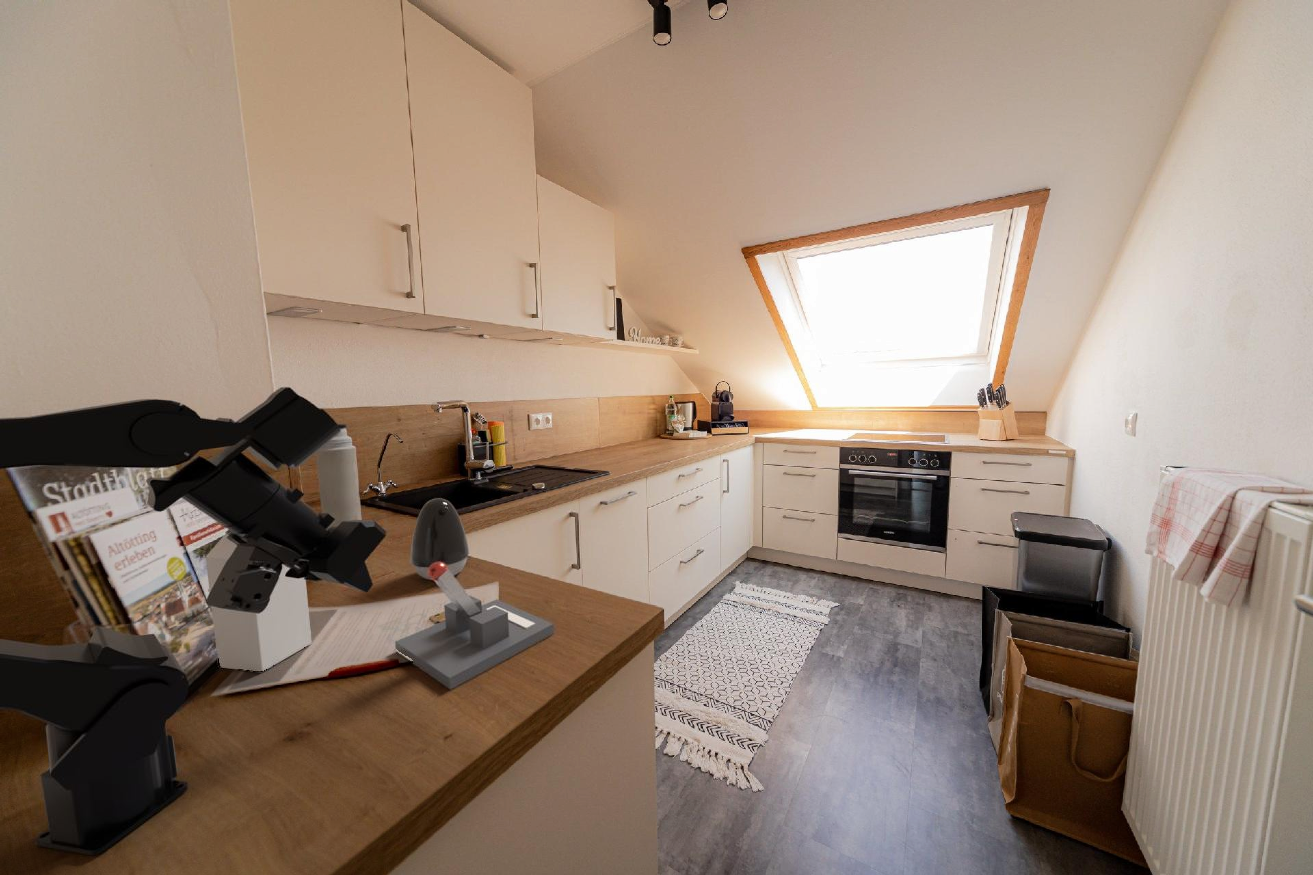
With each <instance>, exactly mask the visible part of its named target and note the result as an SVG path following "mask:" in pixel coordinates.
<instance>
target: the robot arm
mask: <svg viewBox="0 0 1313 875" xmlns="http://www.w3.org/2000/svg"><path fill="white" fill-rule="evenodd" d="M338 424H339V423H337V422H336V420H335V419H334V418H333V417H332V416H331V414H329V413H328V412H327V411H326V410H325V409H323V408H319V407H318V406H316V405H315V404H314V403H313V402H311V401H309V400H308V399H307V398H305V397H303V396H301V395H299V394H298V393H297V392H296V391H295V390H294V389H293V388H291V387H289V386H284V387H280V388H278V389H276V390H275V391H274V392H272V393H271V394H270V395H269V396H267V399H266V400H264V401H263V402H262V403H260V404H259V405H257V406H256V407H255V408H253V409H252V410H250V411H249V412H247V413H246V414H245V415H243V416H242V417H240V418H239V419H238V420H236V421H235V420H233V419H232V418H227V417H217V418H216V419H210V418H204V417H201V416H200V415H199V413H198V412H196V410H194V409H192V408H190V407H189V406H187V405H185V404H183V403H181V402H178V401H174V400H172V399H171V400H169V399H157V398H156V399H155V398H153V399H152V398H142V399H135V400H134V399H133V400H128V401H120V402H113V403H106V404H101V405H95V406H94V405H93V406H89V407H88V406H87V407H82V408H76V409H68V410H63V411H57V412H51V413H44V414H38V415H31V416H24V417H23V416H20V417H19V416H16V417H0V470H2V469H13V468H22V467H32V466H50V467H51V466H55V467H57V466H59V467H60V466H63V467H64V466H65V467H67V466H68V467H86V468H88V467H90V468H121V469H122V468H125V469H126V468H130V469H131V468H134V469H137V468H140V469H147V468H148V469H161V468H162V469H163V468H165V469H166V468H171V467H176V466H178V465H179V466H181V465H182V464H184V463H186V464H184V465H183V466H181V467H180V468H178V469H177V470H176V471H174V472H173V473H171V475H169V476H165V477H154V476H153V477H150V476H149V477H147V479H146V480H145V482H146V484H147V487H148V497H147V498H148V499H147V502H146V504H147V505H148V507H150V508H151V509H152V510H154V511H155V512H157V513H158V512H159V513H160V512H161V513H162V512H164V511H165V510H167V509H168V508H169V507H171V506H172V505H174V504H175V503H177V501H179V500H180V499H182V500H184V501H186V502H187V503H188V504H189V505H192V506H193V507H194V508H196V509H197V510H198V511H201V513H203V514H205V515H207V516H208V517H209V518H211V519H212V520H214V521H216V522H217V523H218V524H220V525H221V526H223V527H225V529H227V530H226V531H225V534H228V536H227V539H229V540H230V541H232V542H233V543H235V544H236V545H237V547H236V548H235V550H234V552H233V553H232V555H231V556H230V558H229V559H228V560H227V562H226V563H225V565H224V567H223V569H222V571H221V572H220V574H219V576H218V578H217V580H216V582H215V584H214V585H213V587H212V589H211V591H209V593H208V596H207V597H206V598H207V599H206V605H207V606H210V607H211V606H213V607H217V608H222V609H229V610H236V611H243V612H250V613H257V614H259V613H261V612H263V611H264V610H265V608H266V607H267V605H268V603H269V601H270V596H271V594H272V592H273V590H274V588H275V586H276V584H277V582H278V580H279V576H280V574H281V571H282V565H285V566H286V567H288V568H290V569H289V570H288V571H287V572H286V574H285V577H291V578H297V579H299V578H304V577H305V578H304V580H306V581H312V582H321V581H324V582H327V583H331V584H339V585H343V586H346V587H347V588H351V589H354V590H357V591H360V592H361V593H368V592H369V591H370V590H371V588H372V587H373V585H374V583H373V581H372V578H371V575H370V572H369V570H368V567H367V564H366V560H367V559H368V558H369V557H370V555H372V553H373V552H374V551H375V550H376V549H377V547H378V546H379V545H380V544H381V542H382V541H383V540H384V539H385V537H386V536H387V531H386V529H385V528H383V527H382V526H381V525H380V524H378V523H377V522H376V521H375V520H373V519H371V520H370V519H369V520H368V519H362V520H350V521H342V522H341V523H340V524H339V525H338V526H333V527H330V528H329V529H328V530H327V528H328V527H329V526H330V524H331V523H332V522H333V521H334V520H335V519H334V518H333V517H332V516H331V515H329V514H328V513H322V512H317V511H316V510H315V509H314V508H312V507H311V506H310V505H309V504H307V503H306V502H305V501H303V499H302V498H303V497H304V496H305V494H304V492H302V491H301V490H300V489H299V488H297V487H286V486H285V485H284V484H282V483H281V482H279V481H278V480H277V479H275V478H274V477H273V476H272V475H270V474H269V473H268V472H267V471H265V470H264V469H263V468H262V467H260V466H259V465H258V464H256V463H255V462H254V461H253V460H252V459H250V458H249V457H248V456H246V454H244V453H243V452H244V451H245V450H247V451H248V452H249V453H250V454H252V455H253V456H254V457H256V458H257V459H258V460H259V461H261V462H262V463H263V464H265V465H267V466H268V467H269V468H271V469H273V470H275V471H278V470H279V469H280V468H282V466H283V465H284V467H286V468H291V469H293V470H296V469H297V468H298V467H300V466H301V465H303V464H304V462H307V461H308V459H310V458H311V457H312V456H313V455H314V454H316V452H317V451H318V450H319V449H320V448H322V447H323V446H324V445H325V444H327V443H328V442H329V441H330V440H331V439H333V438H334V437H335V436H336V435H337V434H339V433H340V432H341V430H340V427H339V426H338ZM219 448H223V450H221V451H219V452H218V453H217V454H215V455H213V456H212V457H210V458H208V459H206V458H204V457H203V456H200V455H197V454H198V453H199V452H200V451H206V450H213V449H219ZM196 455H197V456H196ZM193 457H194V458H193ZM192 458H193V459H192ZM188 461H189V462H188ZM95 628H96V629H94V632H93V634H92V636H91V637H90V639H89V641H88V642H80V643H71V644H63V645H60V644H59V645H45V644H38V643H31V642H30V643H29V642H23V641H18V640H9V639H1V638H0V710H6V711H7V710H8V711H13V712H17V713H21V714H23V715H26V716H28V717H30V718H34V719H36V720H38V721H40V722H43V723H45V724H46V726H45V733H46V742H47V743H46V744H47V752H48V762H49V764H48V765H49V768H48V770H46V771H44V772H42V773H41V774H40V776H39V777H40V783H41V790H42V795H43V801H44V808H45V813H46V820H47V826H48V828H47V829H46V830H45V831H43V832H42V833H39V835H37V836H35V838H34V844H35V846H38V847H42V848H43V847H44V848H50V849H53V850H54V849H55V850H59V851H60V850H61V851H66V852H72V853H77V854H82V855H88V856H97V855H100V854H101V853H103V852H105V851H107V850H108V849H109V848H110V847H112V846H113V845H115V843H118V841H120V840H121V839H122V838H124V837H125V836H127V835H128V834H130V833H131V832H132V831H134V830H135V829H137V827H139V826H140V825H142V824H143V823H144V822H145V821H147V820H148V819H150V818H151V817H152V816H154V815H155V814H156V813H157V812H159V811H160V810H162V809H163V808H165V807H166V806H167V805H169V804H170V803H172V802H173V801H174V800H176V799H177V798H178V797H179V796H180V795H182V794H183V793H185V792H186V791H187V790H188V789H189V783H188V781H183V780H176V778H177V777H178V774H179V771H178V764H177V758H176V757H177V756H176V750H175V749H176V748H175V741H174V735H171V734H168V731H167V726H166V722H167V720H169V719H171V717H173V716H174V715H175V714H176V713H177V712H178V710H179V709H180V708H181V707H182V706H183V704H184V702H185V701H186V698H187V696H188V694H189V685H190V683H189V680H188V677H187V675H186V673H185V670H184V669H183V668H182V666H181V665H180V663H179V661H178V660H177V659H176V656H175V655H174V654H173V652H172V651H171V650H170V648H168V647H166V645H163V644H161V642H160V641H159V639H158V638H157V635H155V633H150V634H147V633H146V634H141V635H138V634H129V633H124V632H121V631H119V630H115V629H114V628H113V629H112V628H110V627H105V626H101V625H100V626H98V627H95ZM174 779H175V780H174Z"/></svg>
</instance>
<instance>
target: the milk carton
mask: <svg viewBox="0 0 1313 875" xmlns="http://www.w3.org/2000/svg"><path fill="white" fill-rule="evenodd" d="M227 536H228V534H226V533H225V534H224V535H223V536H222V538H221V539H220V540H219V541H218V542H217V543H216V544H215V546H214V547H213V548H211V550H210V551H209V553H208V554H206V556H205V563H206V571H207V582H208V589H209V590H208V591H209V592H210V591H211V589H212V587H213V585H214V584H215V582H216V580H217V578H218V576H219V574H220V572H221V571H222V569H223V567H224V565H225V563H226V562H227V560H228V559H229V558H230V556H231V555H232V553H233V552H234V550H235V548H236V547H237V545H236V544H235V543H233V542H232V541H230V540H229V539H227ZM289 569H290V568H288V567H286V566H285V565H282V571H281V574H280V576H279V580H278V582H277V584H276V586H275V588H274V590H273V592H272V594H271V596H270V601H269V603H268V605H267V607H266V608H265V610H264V611H263V612H261V613H259V614H257V613H250V612H243V611H236V610H229V609H222V608H217V607H213V606H210V607H211V614H212V615H211V616H212V623H213V630H214V632H213V633H214V641H215V648H216V655H217V654H218V658H219V663H220V666H221V667H220V668H224V669H229V670H230V669H231V670H238V669H244V670H243V671H246V670H250V671H249V672H253V671H263V672H265V671H267V670H268V669H270V668H272V667H274V666H276V665H277V664H279V663H280V662H282V661H284V660H287V658H289V657H291V656H292V655H294V654H296V653H298V652H299V651H301V650H303V649H305V648H306V647H307V646H310V645H312V642H313V641H312V633H311V623H310V622H311V621H310V612H309V602H308V601H309V600H308V592H307V580H304V578H305V577H304V578H299V579H297V578H291V577H285V574H286V572H287V571H288V570H289ZM304 647H305V648H304ZM218 658H217V659H218ZM273 665H274V666H273ZM245 669H246V670H245ZM266 669H267V670H266ZM251 670H253V671H251ZM264 670H265V671H264Z"/></svg>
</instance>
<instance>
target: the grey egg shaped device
mask: <svg viewBox="0 0 1313 875" xmlns="http://www.w3.org/2000/svg"><path fill="white" fill-rule="evenodd" d="M415 522H416V523H415V526H414V530H413V535H412V541H411V548H410V549H411V551H410V563H411V564H412V565H413V568H414V570H415V572H416V573H417V575H419V576H420V577H421V578H423V579H426V580H429V581H433V580H432V579H431V578H430V577H429V576H428V569H429V567H430V565H431V564H433V563H435V562H443V563H445V564H446V565H447V567H448V569H449V571H450V572H451V573H452V575H453V576H454V577H455V576H456V575H458V574H459V573H460V572H461V571H462V570H463V568H465V566H466V563H467V559H468V556H469V554H470V551H469V550H470V549H469V543H468V539H467V536H466V531H465V529H464V525H463V523H462V521H461V518H460V515H459V513H458V512H457V510H456V508H455V506H454V505H453V504H452V503H451V502H450V501H449V500H447V499H445V498H442V497H438V498H437V497H436V498H433V499H430V500H428V501H427V502H426V503H424V505H423V507H422V508H421V510H420V512H419V514H418V515H417V520H416V521H415Z"/></svg>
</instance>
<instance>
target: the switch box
mask: <svg viewBox="0 0 1313 875" xmlns="http://www.w3.org/2000/svg"><path fill="white" fill-rule="evenodd" d="M469 596H470V598H471V599H472V600H473V602H474V603H475V604H476V605H477V607H478V608H479V609H480V611H481V612H482V613H479V614H477V615H475V616H472V617H470V618H469V622H468V621H466V619H465V618H464V617H463V616H462V614H461V613H460V612H459V611H458V609H457V608H456V607H455V606H454V605H453V603H452V602H449V603H447V604H445V605H443V607H444V619H445V620H444V621H441V622H439V623H436V624H434V625H432V626H429V627H428V628H425V629H424V628H423V629H422V630H420V631H417V632H415V633H412V634H410V635H407V636H405V637H403V638H399V639H398V640H395V642H394V643H395V644H394V645H395V646H394V647H395V650H396V649H397V650H398V651H399V652H401V653H402V654H404V655H405V656H408V657H409V658H411V659H412V660H413V663H412V665H414V666H415V667H417V668H418V667H419V668H418V669H420V670H421V671H423V672H424V673H426V674H427V675H429V676H430V677H432V679H435V680H436V681H437V682H439V683H440V684H442V685H443V686H444V687H446V688H447V689H448V690H451V691H452V690H453V689H454V688H457V687H458V686H460V685H461V684H463V683H466V682H467V681H469V680H471V679H473V678H475V677H476V676H478V675H480V674H482V673H484V672H486V671H488V670H490V669H492V668H493V667H495V666H497V665H499V664H500V663H503V662H504V661H506V660H508V659H510V658H512V657H514V656H515V655H517V654H520V653H521V652H523V651H524V650H527V649H528V648H530V647H532V646H535V644H538V643H539V642H541V641H544V640H545V639H547V638H548V637H551V636H552V635H554V634H555V629H554V628H555V626H554V624H555V623H552V622H551V621H548V620H545V619H543V618H541V617H538V616H536V615H535V614H532V613H529V612H527V611H525V610H523V609H520V608H518V607H516V606H513V605H511V604H509V603H506V602H504V601H501V600H500V599H497V598H496V599H494V600H492V601H489V602H487V603H485V604H482V600H481V599H478V598H476V597H474V596H472V595H469Z"/></svg>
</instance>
